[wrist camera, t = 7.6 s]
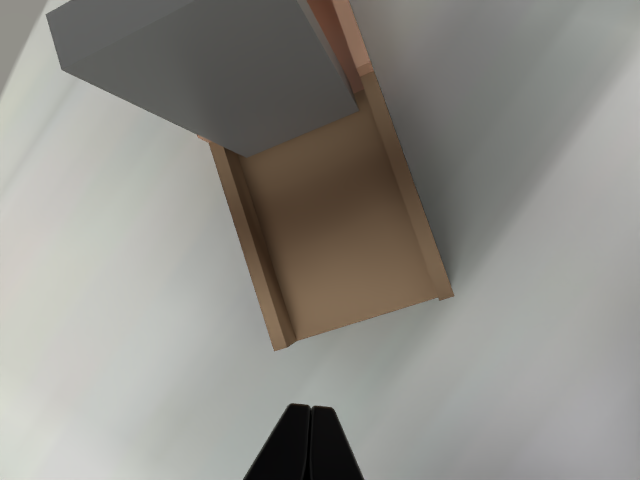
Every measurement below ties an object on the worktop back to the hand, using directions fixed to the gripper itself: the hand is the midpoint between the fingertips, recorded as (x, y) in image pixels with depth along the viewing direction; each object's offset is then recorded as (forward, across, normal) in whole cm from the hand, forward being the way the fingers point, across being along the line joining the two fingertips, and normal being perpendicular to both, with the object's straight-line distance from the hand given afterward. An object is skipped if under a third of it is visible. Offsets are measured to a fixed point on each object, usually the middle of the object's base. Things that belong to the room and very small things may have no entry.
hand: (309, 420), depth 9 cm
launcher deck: (+12, -1, +2) cm, 12 cm away
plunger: (+11, +1, -3) cm, 12 cm away
